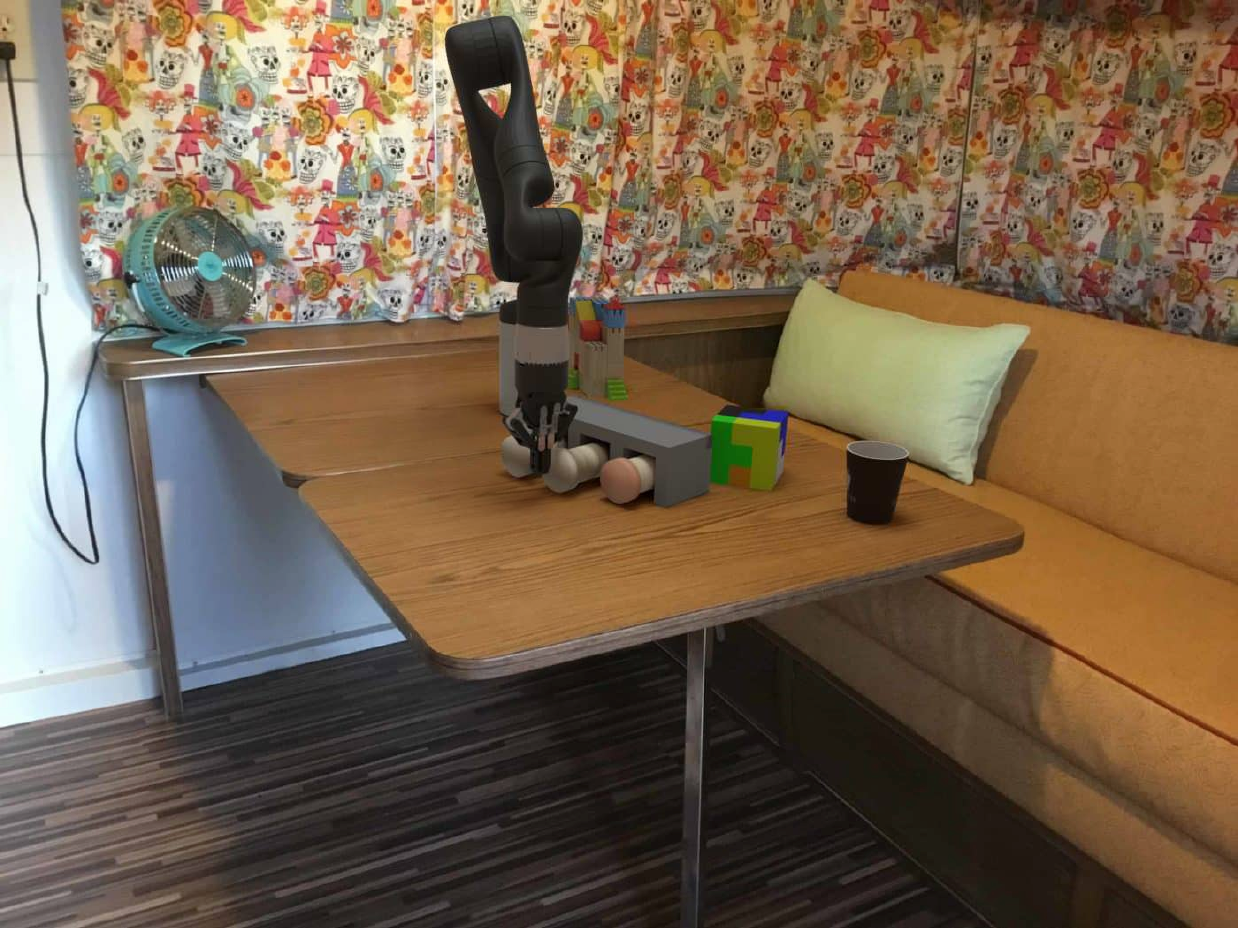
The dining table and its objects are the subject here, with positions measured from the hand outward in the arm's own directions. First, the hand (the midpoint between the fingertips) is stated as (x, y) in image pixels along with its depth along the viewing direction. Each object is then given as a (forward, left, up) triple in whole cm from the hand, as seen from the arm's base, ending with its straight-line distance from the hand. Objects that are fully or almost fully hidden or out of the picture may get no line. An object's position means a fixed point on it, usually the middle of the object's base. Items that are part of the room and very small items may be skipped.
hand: (540, 472), depth 147 cm
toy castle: (-54, -43, -4) cm, 69 cm away
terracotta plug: (-11, +9, -4) cm, 15 cm away
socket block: (-16, 0, -4) cm, 16 cm away
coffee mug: (-32, +36, -4) cm, 48 cm away
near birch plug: (-8, -9, -4) cm, 12 cm away
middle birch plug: (-8, 0, -4) cm, 9 cm away
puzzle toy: (-31, +14, -4) cm, 34 cm away
